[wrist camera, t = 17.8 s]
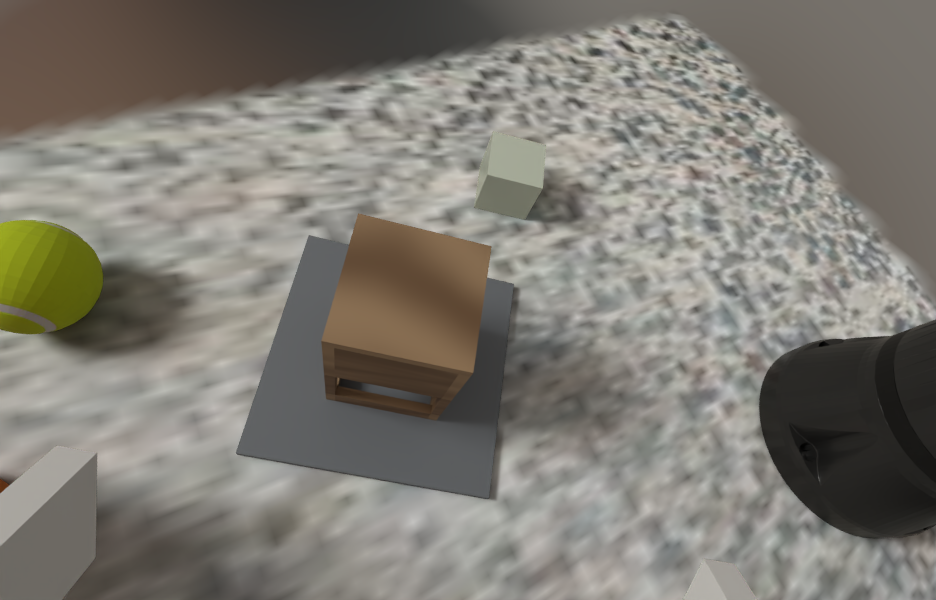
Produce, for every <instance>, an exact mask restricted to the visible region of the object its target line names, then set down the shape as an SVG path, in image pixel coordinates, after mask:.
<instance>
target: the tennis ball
mask: <svg viewBox="0 0 936 600" xmlns="http://www.w3.org/2000/svg"><path fill="white" fill-rule="evenodd" d="M102 287H103V272H102V267H101V263H100V261H99V259H98V257H97V255H96V253H95V251H94V250H93V249H92V248H91V247H90V246H89V245H88V244H87V243H86V242H85V241H84V240H83V239H82V238H81V237H80V236H78V235H77V234H75V233H74V232H72V231H71V230H69V229H67V228H65V227H62V226H60V225H57V224H54V223H50V222H45V221H36V220H18V221H10V222H4V223H1V224H0V329H1V330H5V331H9V332H13V333H21V334H40V333H44V332H52V331H56V330H60V329H63V328H65V327H67V326H69V325H72V324H74V323H75V322H77V321H78V320H80V319H81V318H83V317H84V316H85V315H86V314H87V313H88V312H89V311H90V310H91V309H92V308H93V306H94V305H95V303H96V301H97V300H98V298H99V296H100V293H101V290H102Z"/></svg>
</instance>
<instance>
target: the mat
mask: <svg viewBox="0 0 936 600" xmlns="http://www.w3.org/2000/svg"><path fill="white" fill-rule="evenodd" d="M348 247H349V245H348V244H343V243H339V242H335V241H331V240H327V239H322V238H318V237H314V236H310V235H309V237H308V240H307V243H306V246H305V249H304V252H303V254H302V257H301V260H300V263H299V266H298V269H297V272H296V275H295V278H294V281H293V284H292V287H291V290H290V293H289V296H288V299H287V302H286V305H285V308H284V311H283V314H282V317H281V320H280V323H279V326H278V329H277V332H276V335H275V338H274V341H273V344H272V347H271V350H270V353H269V356H268V359H267V362H266V365H265V368H264V371H263V374H262V377H261V380H260V383H259V386H258V389H257V392H256V395H255V398H254V401H253V404H252V407H251V410H250V413H249V416H248V419H247V422H246V425H245V428H244V430H243V433H242V436H241V439H240V442H239V445H238V448H237V451H236V454H238V455H244V456H249V457H255V458H260V459H266V460H272V461H277V462H283V463H288V464H294V465H300V466H305V467H311V468H317V469H322V470H328V471H333V472H339V473H345V474H350V475H356V476H361V477H367V478H373V479H378V480H384V481H389V482H395V483H401V484H406V485H412V486H418V487H423V488H429V489H434V490H440V491H446V492H451V493H457V494H462V495H468V496H474V497H479V498H485V499H488V498H489V493H490V485H491V476H492V467H493V459H494V450H495V442H496V433H497V424H498V416H499V407H500V399H501V390H502V381H503V373H504V364H505V356H506V347H507V338H508V330H509V321H510V313H511V304H512V295H513V287H514V284H512V283H507V282H503V281H499V280H495V279H491V278H487V281H486V288H485V295H484V302H483V309H482V316H481V323H480V330H479V337H478V344H477V351H476V357H475V364H474V371H473V374H472V375H471V377H470V378H469V379H468V380H467V382H466V383H465V384H464V386H463V387H462V388H461V389H460V391H459V392H458V393H457V394H456V396H455V397H454V398H453V400H452V401H451V402H450V403H449V405H448V406H447V407H446V409H445V410H444V411H443V412H442V414H441V415H440V416H439V417H438V419H437V420H436V421H435V420H430V419H425V418H420V417H415V416H410V415H405V414H399V413H394V412H389V411H384V410H379V409H374V408H369V407H364V406H359V405H354V404H349V403H344V402H339V401H333V400H328V399H326V393H325V381H324V368H323V356H322V343H321V340H322V337H323V333H324V330H325V327H326V323H327V320H328V316H329V313H330V309H331V306H332V302H333V299H334V296H335V292H336V289H337V285H338V282H339V278H340V275H341V271H342V268H343V265H344V261H345V258H346V254H347V251H348ZM339 386H340V387H345V388H350V389H355V390H360V391H365V392H370V393H375V394H380V395H385V396H390V397H395V398H400V399H405V400H410V401H415V402H420V403H425V404H430V401H431V396H426V395H421V394H416V393H411V392H406V391H402V390H397V389H392V388H387V387H382V386H377V385H372V384H367V383H362V382H357V381H352V380H347V379H342V378H341V380H340V384H339Z"/></svg>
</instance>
